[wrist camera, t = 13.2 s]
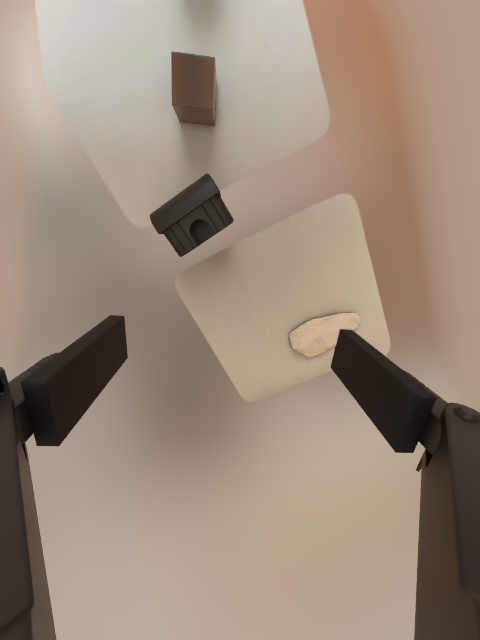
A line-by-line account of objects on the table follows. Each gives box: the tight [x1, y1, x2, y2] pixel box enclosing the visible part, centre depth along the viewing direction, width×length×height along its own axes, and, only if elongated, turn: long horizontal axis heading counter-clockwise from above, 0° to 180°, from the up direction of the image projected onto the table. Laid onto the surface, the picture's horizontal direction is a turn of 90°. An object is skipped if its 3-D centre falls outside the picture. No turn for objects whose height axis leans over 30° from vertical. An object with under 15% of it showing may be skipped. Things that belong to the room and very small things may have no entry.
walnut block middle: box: [172, 51, 216, 126], centre depth 31 cm, size 5×5×5 cm
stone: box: [290, 313, 361, 357], centre depth 46 cm, size 8×14×2 cm, turn 115°
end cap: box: [150, 174, 233, 257], centre depth 36 cm, size 10×7×7 cm
